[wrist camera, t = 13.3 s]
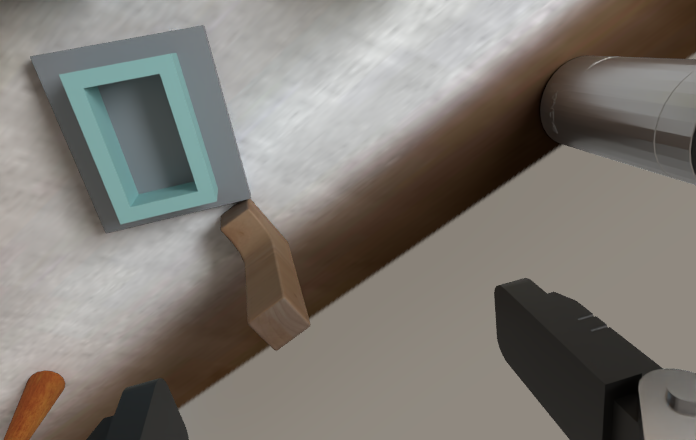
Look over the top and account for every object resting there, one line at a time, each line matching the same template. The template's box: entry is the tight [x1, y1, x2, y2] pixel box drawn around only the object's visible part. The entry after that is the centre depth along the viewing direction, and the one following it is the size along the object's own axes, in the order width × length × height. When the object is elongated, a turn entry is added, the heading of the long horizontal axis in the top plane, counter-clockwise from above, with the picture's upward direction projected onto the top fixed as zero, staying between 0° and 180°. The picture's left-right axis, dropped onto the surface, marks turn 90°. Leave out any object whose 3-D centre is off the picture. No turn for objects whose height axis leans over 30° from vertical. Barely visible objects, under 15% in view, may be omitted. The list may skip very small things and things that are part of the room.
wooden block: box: [220, 199, 310, 350], centre depth 38 cm, size 7×3×15 cm, turn 34°
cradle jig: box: [30, 25, 251, 233], centre depth 37 cm, size 13×15×5 cm
